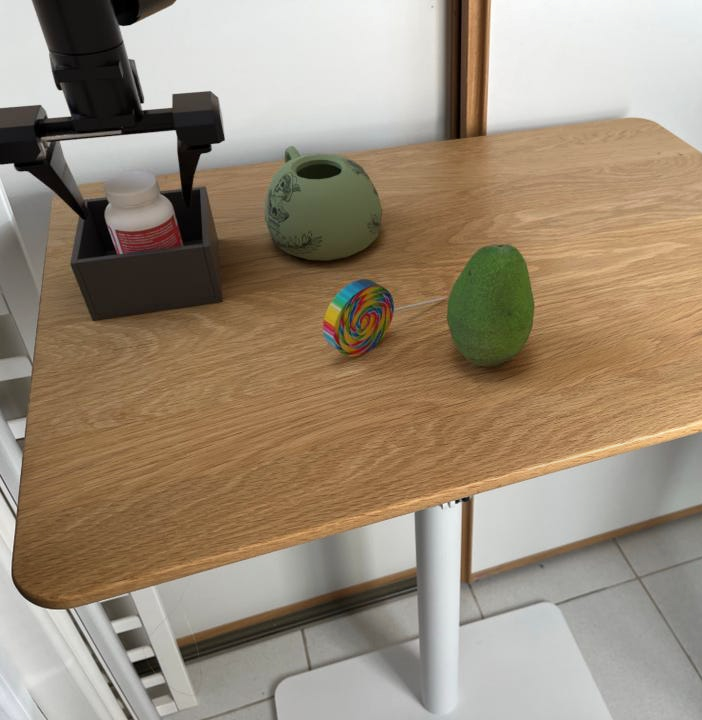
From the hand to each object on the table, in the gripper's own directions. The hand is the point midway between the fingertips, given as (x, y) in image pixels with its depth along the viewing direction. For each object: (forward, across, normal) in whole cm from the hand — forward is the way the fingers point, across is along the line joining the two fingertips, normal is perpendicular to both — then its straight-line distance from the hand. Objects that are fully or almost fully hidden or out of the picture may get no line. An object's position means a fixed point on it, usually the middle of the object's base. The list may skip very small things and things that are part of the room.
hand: (137, 211), depth 71 cm
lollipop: (+9, -21, +14) cm, 27 cm away
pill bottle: (+8, 0, 0) cm, 8 cm away
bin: (+9, 0, -1) cm, 9 cm away
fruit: (+9, -29, +20) cm, 36 cm away
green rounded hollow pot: (+9, -17, -6) cm, 21 cm away
